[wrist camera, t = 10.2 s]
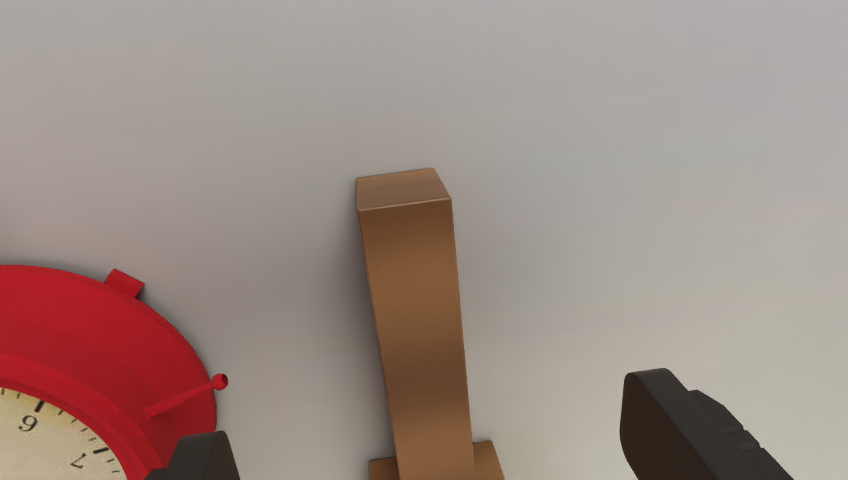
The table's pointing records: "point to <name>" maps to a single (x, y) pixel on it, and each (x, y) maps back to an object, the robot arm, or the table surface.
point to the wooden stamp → (419, 329)
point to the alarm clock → (92, 379)
